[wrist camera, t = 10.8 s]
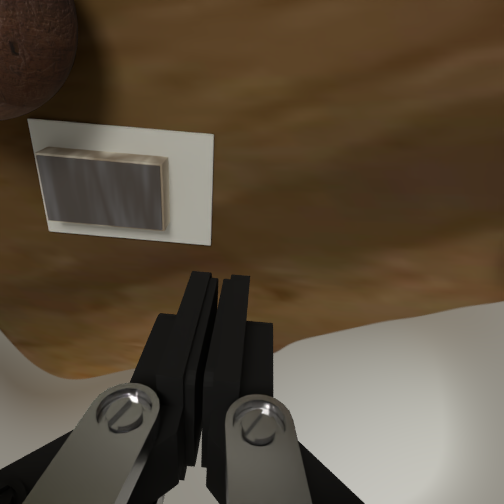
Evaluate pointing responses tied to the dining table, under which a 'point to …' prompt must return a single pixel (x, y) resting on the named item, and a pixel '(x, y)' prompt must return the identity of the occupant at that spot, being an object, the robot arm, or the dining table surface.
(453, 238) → the dining table surface
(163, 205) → the ash tile
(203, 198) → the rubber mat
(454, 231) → the dining table surface
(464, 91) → the dining table surface
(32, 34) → the wooden sphere
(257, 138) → the dining table surface
